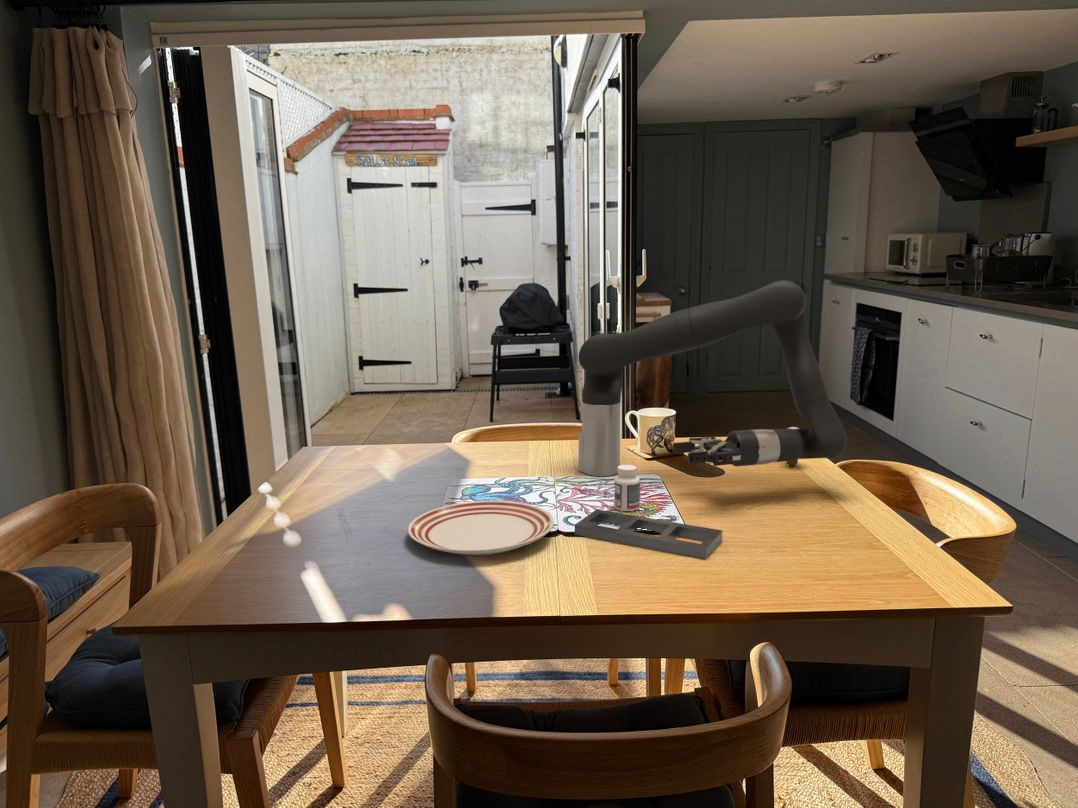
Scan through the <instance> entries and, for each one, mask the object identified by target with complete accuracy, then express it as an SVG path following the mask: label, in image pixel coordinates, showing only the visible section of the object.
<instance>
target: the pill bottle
mask: <svg viewBox="0 0 1078 808" xmlns="http://www.w3.org/2000/svg"><path fill="white" fill-rule="evenodd" d="M637 470H638V468H637V466H636V465H633V464H620V466H618V469H617V474H618V475H617V476H616V477H615V478H614V492H613V493H614V497H613V498H614V503H613V504H614V509H616V511H619V510H620V511H619V512H625V511H631V512H635V511H634V510H636V511H638V510H639V509H640V506H641V497H640V496H641V480H640V478H639V477H638V476H637V474H638V471H637ZM637 509H638V510H637Z"/></svg>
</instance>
